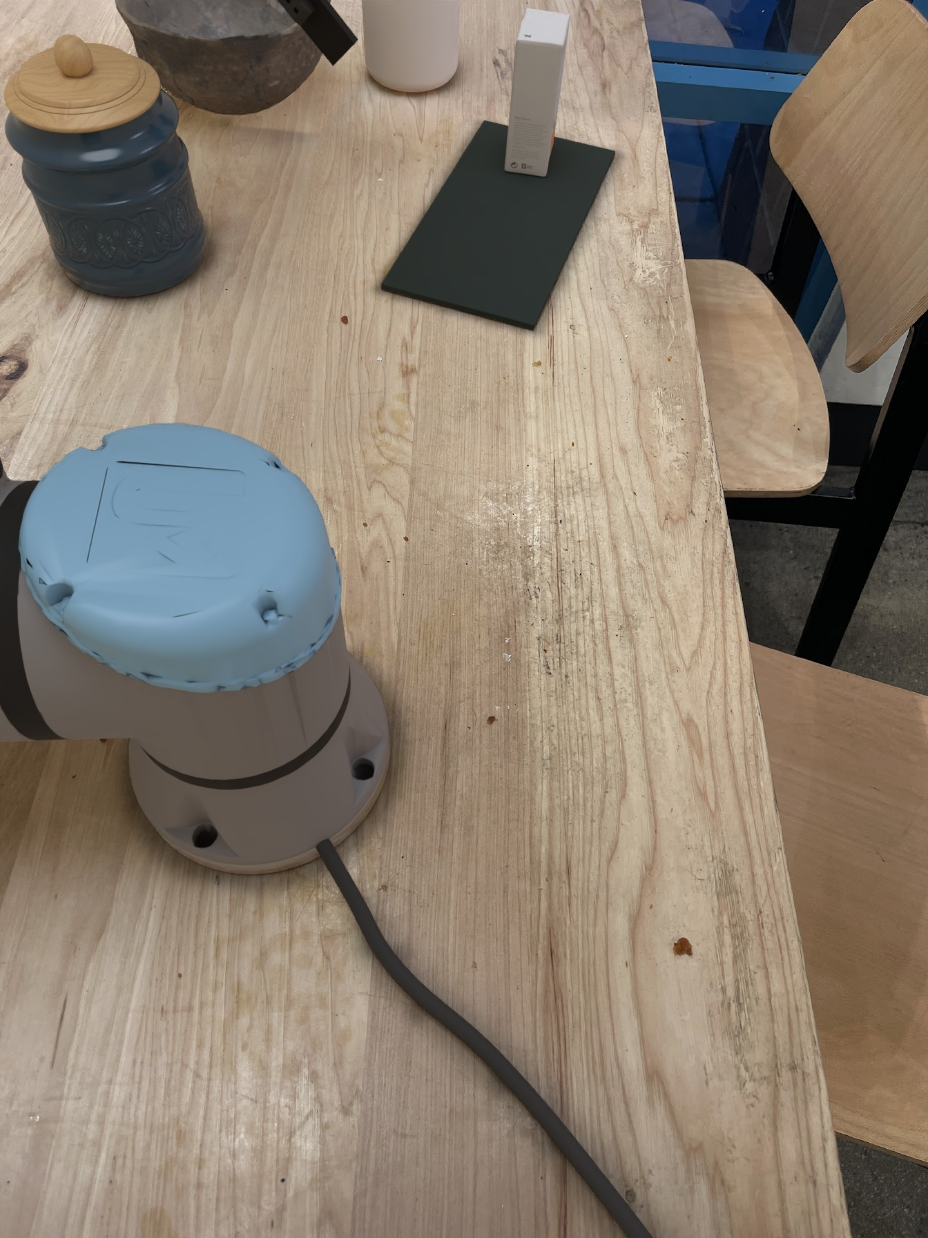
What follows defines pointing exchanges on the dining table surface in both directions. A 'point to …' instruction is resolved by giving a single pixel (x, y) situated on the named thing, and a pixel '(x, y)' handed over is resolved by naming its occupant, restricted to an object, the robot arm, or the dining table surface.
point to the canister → (106, 167)
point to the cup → (411, 42)
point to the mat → (500, 230)
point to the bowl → (222, 51)
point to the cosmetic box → (536, 90)
